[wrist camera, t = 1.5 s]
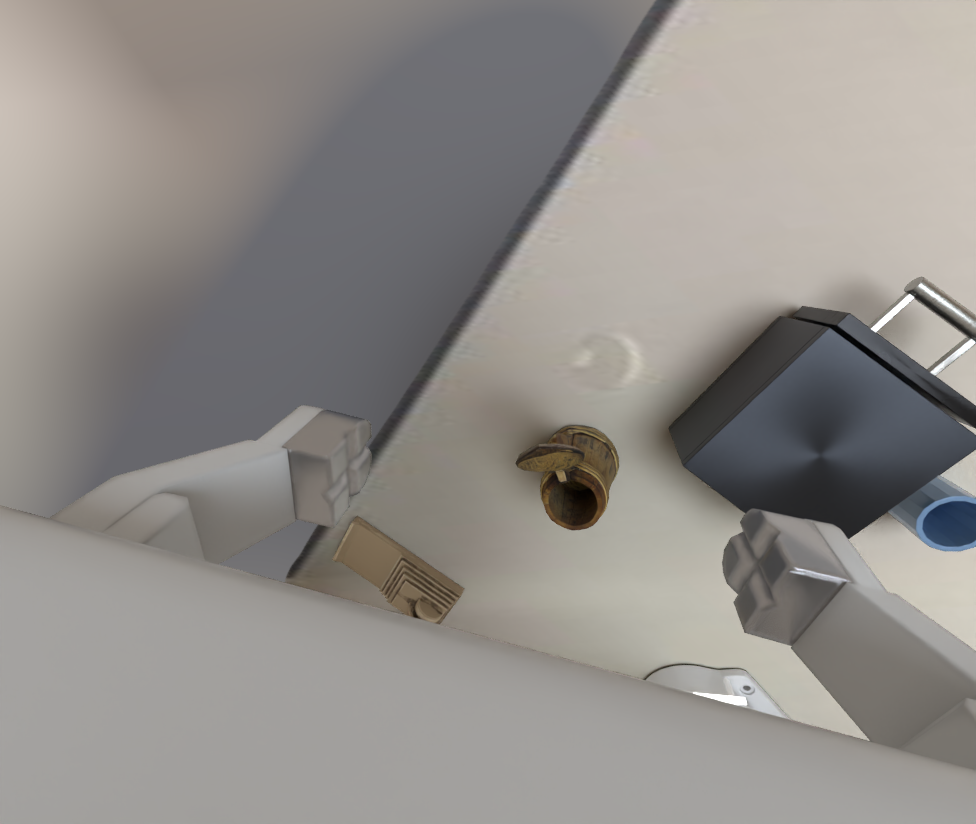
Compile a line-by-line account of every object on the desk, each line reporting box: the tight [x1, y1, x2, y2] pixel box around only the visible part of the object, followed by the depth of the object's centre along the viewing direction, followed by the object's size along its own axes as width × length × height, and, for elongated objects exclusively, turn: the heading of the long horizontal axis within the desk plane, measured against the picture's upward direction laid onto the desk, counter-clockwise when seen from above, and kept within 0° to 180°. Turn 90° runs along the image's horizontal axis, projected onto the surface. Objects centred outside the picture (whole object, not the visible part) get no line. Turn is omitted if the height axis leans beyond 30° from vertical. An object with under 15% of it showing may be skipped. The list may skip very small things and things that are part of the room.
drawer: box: [793, 277, 976, 428], centre depth 39 cm, size 20×13×9 cm
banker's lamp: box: [332, 516, 464, 624], centre depth 50 cm, size 16×21×35 cm
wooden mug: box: [516, 426, 619, 530], centre depth 44 cm, size 9×14×18 cm, turn 18°
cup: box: [888, 475, 976, 551], centre depth 41 cm, size 6×6×6 cm
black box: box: [669, 316, 976, 539], centre depth 41 cm, size 16×15×11 cm
